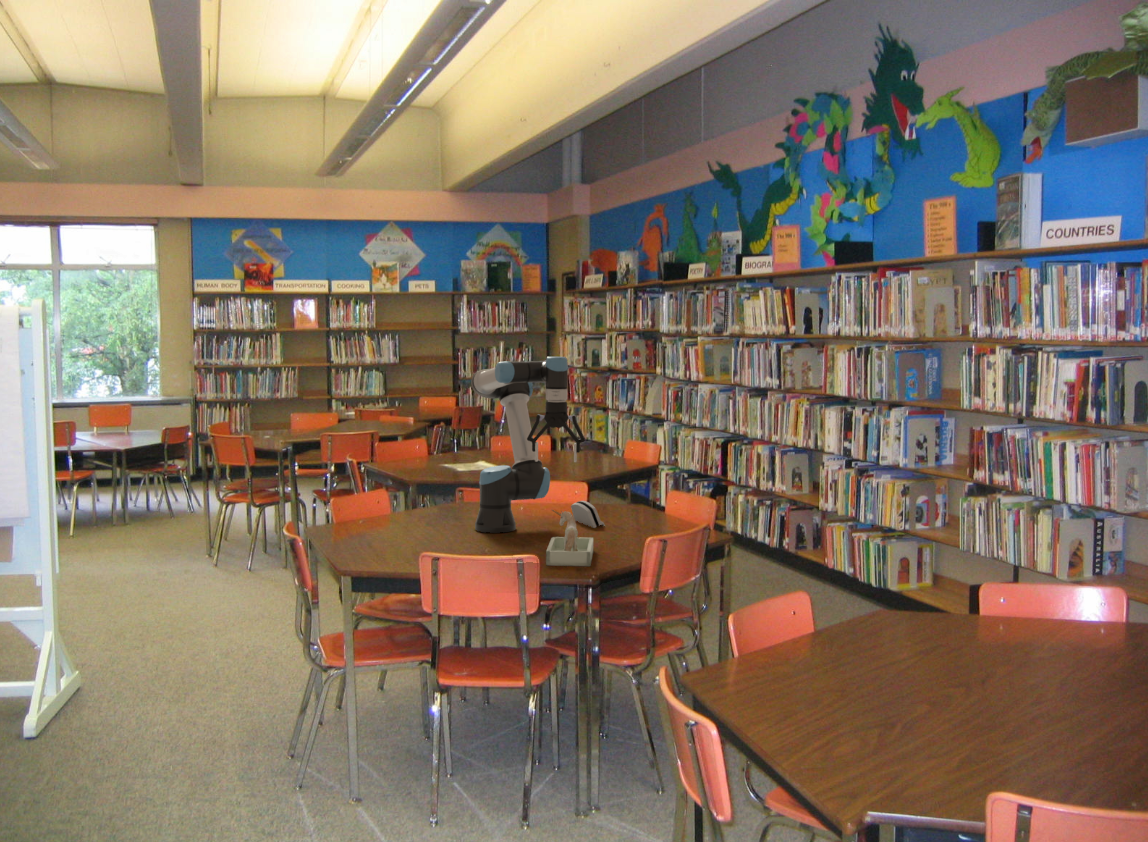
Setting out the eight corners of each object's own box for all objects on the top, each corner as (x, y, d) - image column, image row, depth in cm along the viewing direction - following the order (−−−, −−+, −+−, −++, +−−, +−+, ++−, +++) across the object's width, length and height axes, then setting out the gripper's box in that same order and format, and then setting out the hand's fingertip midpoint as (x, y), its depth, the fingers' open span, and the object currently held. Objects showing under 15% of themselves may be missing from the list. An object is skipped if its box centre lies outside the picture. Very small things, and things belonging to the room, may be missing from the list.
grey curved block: (605, 526, 369) (598, 503, 367) (595, 532, 367) (587, 508, 365) (585, 519, 384) (578, 496, 382) (575, 524, 382) (567, 501, 380)
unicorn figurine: (571, 547, 329) (571, 508, 327) (588, 560, 310) (588, 519, 309) (550, 548, 326) (551, 509, 325) (566, 561, 308) (567, 520, 307)
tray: (546, 565, 307) (546, 551, 307) (551, 550, 329) (552, 536, 329) (590, 566, 306) (590, 552, 306) (593, 550, 328) (593, 537, 328)
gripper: (519, 401, 336) (519, 462, 338) (591, 402, 334) (590, 463, 336) (522, 399, 343) (521, 459, 345) (592, 400, 342) (591, 460, 344)
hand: (555, 461), depth 341 cm, fingers open, 13 cm apart
